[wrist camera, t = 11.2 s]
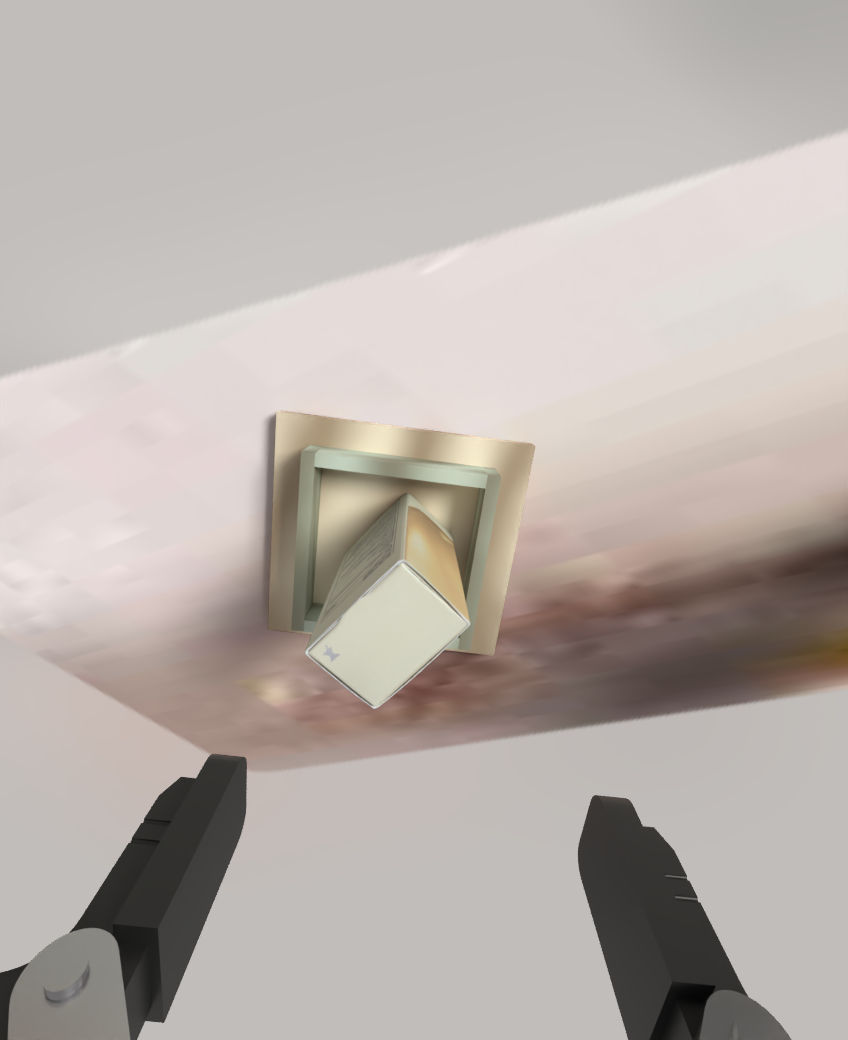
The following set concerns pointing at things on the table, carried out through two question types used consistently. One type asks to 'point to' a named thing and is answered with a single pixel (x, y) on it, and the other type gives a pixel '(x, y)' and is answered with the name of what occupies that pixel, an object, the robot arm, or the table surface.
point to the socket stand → (372, 491)
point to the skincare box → (391, 604)
